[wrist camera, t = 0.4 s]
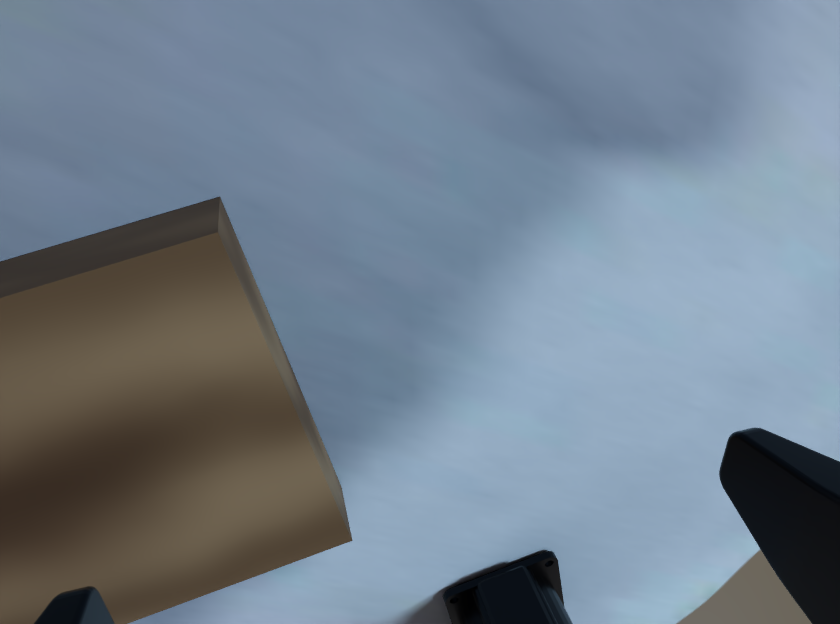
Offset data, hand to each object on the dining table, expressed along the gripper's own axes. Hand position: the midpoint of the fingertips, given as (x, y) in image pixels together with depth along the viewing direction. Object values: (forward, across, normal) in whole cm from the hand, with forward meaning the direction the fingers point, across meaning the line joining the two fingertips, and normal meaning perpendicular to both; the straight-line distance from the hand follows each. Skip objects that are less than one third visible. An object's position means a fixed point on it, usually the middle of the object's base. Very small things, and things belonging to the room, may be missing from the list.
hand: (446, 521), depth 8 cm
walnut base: (+14, +9, +8) cm, 18 cm away
